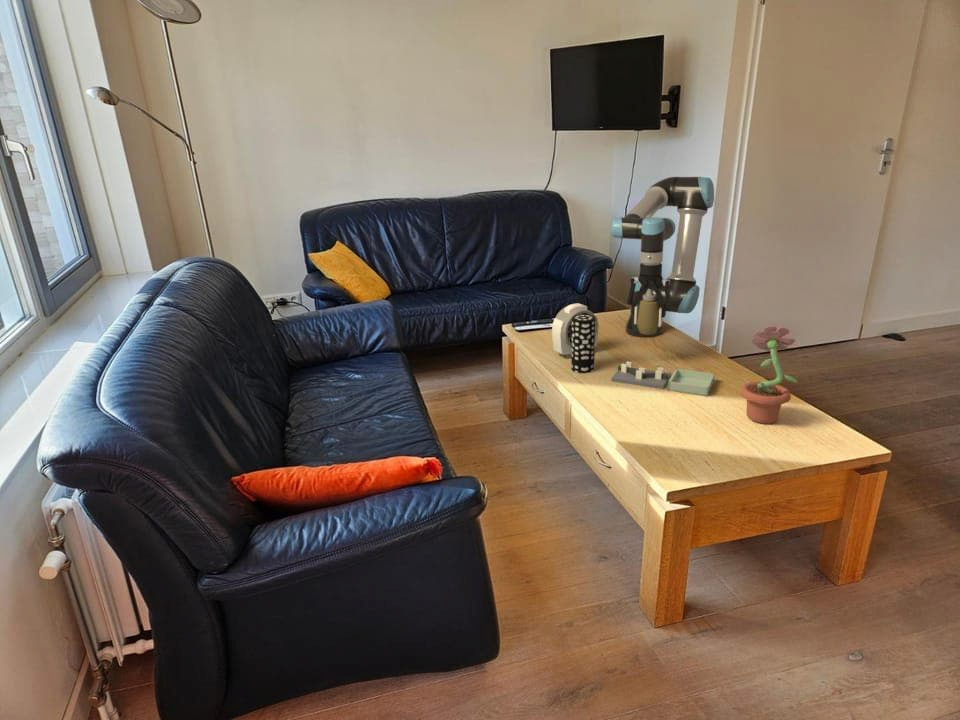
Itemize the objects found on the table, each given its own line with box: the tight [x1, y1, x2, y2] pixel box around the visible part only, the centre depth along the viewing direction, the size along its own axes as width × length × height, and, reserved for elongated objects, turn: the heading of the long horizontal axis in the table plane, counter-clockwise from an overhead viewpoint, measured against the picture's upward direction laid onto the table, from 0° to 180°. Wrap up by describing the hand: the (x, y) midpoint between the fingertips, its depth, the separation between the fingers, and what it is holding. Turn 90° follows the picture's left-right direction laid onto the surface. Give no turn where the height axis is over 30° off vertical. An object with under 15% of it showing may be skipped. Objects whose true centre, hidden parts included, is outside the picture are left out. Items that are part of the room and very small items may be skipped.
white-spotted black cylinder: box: [570, 314, 596, 374], centre depth 229 cm, size 8×8×20 cm
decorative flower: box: [739, 325, 799, 425], centre depth 184 cm, size 15×14×30 cm
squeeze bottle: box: [637, 289, 659, 335], centre depth 226 cm, size 8×8×18 cm
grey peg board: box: [610, 360, 672, 390], centre depth 221 cm, size 12×18×4 cm, turn 62°
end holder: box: [666, 368, 715, 397], centre depth 213 cm, size 13×13×3 cm
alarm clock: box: [551, 302, 600, 359], centre depth 244 cm, size 18×8×20 cm, turn 117°
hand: (648, 324), depth 229 cm, fingers closed on squeeze bottle, 8 cm apart
